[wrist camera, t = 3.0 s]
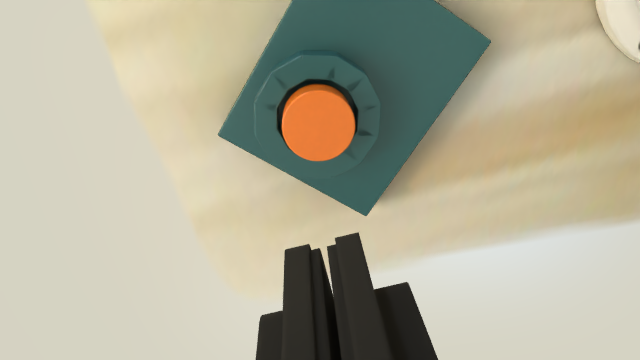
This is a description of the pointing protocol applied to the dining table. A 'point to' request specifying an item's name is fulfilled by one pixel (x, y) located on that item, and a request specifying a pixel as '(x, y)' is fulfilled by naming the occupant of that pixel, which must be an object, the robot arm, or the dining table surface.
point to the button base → (356, 86)
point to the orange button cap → (318, 122)
